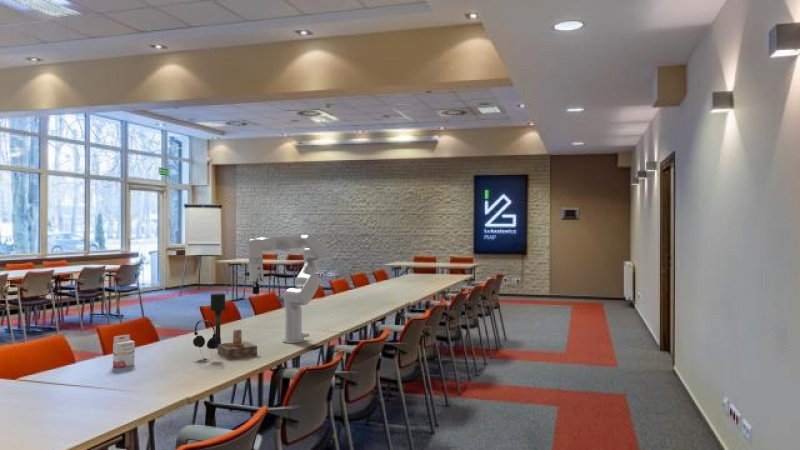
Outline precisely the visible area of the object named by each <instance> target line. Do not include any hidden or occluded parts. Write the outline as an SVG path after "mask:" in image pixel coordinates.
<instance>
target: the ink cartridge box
mask: <svg viewBox="0 0 800 450" xmlns="http://www.w3.org/2000/svg"><path fill="white" fill-rule="evenodd" d="M130 336H131V334H121V335H115V336H113V344H112V367H114V368H116V369H119V368H126V367H129V366H134V365H135V351H136V348H135V347H136V346H135V345H136V343H135V342H136V341H134V340H131V337H130Z"/></svg>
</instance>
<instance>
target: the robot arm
mask: <svg viewBox="0 0 800 450" xmlns="http://www.w3.org/2000/svg"><path fill="white" fill-rule="evenodd" d="M298 249H300V250H301V249H303V251H302V257H303V266H302V269H301V270H300V271H299V273H298V274H297V276H296V278H295V280H294V286H295V287H289V288H288V289H286V290H285V291H284V292H283V302H284V307H285V309H284V311H285V319H284V321H285V323H284V324H285V328H284V329H285V332H284V333H285V335H284V336H285V338H283V339H282V342H283V343H286V344H298V343H302V342H304V341H305V338H308V337H310V333H303V332H302V330H303V328H302V327H303V326H302V324H303V323H302V321H303V320H302V319H303V315H302V314H303V312H302V306H306V305H308V304H309V303H310V302H311V300H312V299H313V297H314V296H315V294H316V292H317V291H318V288H320V278H319V277H318V276H317V274H316V273H317V271H318V266H317V261H324V260H325V259H326V258H327V256H328V251H327V249H326V246H324V244H322V243H321V241H319V240H318V238H316V236H314V235H313V234H291V235H290V234H287V235H279V236H267V237H266V236H264V237H257V238H250V239H249V240H248V264H249V276H248V277H249V280H250V281H251V283H252V294H253V295H259V294H260V284H261V283H262V282H264V266H263V263H264V261H263V259H264V257H263V256H264V255H263V254H264V252H273V251H275V250H277V251H289V250H298Z"/></svg>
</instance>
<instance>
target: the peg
mask: <svg viewBox="0 0 800 450" xmlns="http://www.w3.org/2000/svg"><path fill="white" fill-rule="evenodd" d="M242 331H243V330H242V329H241V328H240V329H238V328H237V329H233V330H232V342H233V343H232V342H230V343H231V346H242V345H244V343H243V342H242V341H243V340H242V339H243V338H242V336H243V335H242V334H243V333H242Z"/></svg>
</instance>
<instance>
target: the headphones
mask: <svg viewBox="0 0 800 450" xmlns="http://www.w3.org/2000/svg"><path fill="white" fill-rule="evenodd" d="M201 322H206V323H208V324H209V325H210V326H211V328H212V330H213V333H212V337H210V338H209V339H208V340H207V343H206V339H205V337H204V336H203V335H199V332H198V325H199V323H201ZM215 333H216V330H215V326H214V324H213V323H212V322H211V321H210V320H209V319H208V320H207V319H203V320H198V321H197V322H196V324H195V326H194V333H193V335H194V336H196V337H194V338H193V340H192V343H193V346H194V347H197V348H202V347H204V346H205V345H206V348H207V349H209V350H210V351H211V353H210V355H212V353H213V352H212V351H213V350H215V349H218V348H217V346H218V344H219V341H218V340H217V339H216V338H215V337H216V334H215ZM200 352H202V351H201V349H200ZM206 361H208V358H205V357H203V361H201V359H200V360H198V363H200V362H201V363H203V364H205V363H206Z"/></svg>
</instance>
